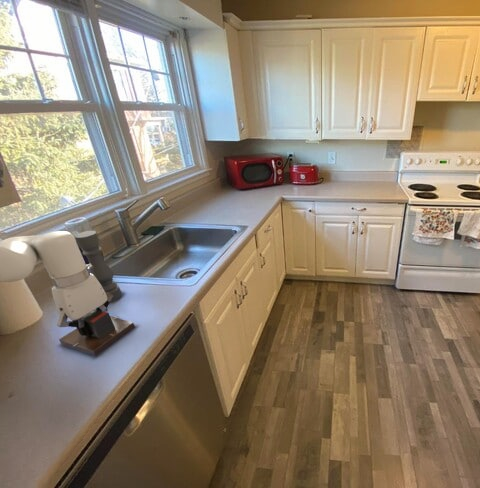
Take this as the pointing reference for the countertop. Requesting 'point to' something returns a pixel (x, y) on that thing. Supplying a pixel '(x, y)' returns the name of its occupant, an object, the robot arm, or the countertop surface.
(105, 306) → the robot arm
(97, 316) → the clock
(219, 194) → the countertop surface
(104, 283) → the candle holder
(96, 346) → the stand
